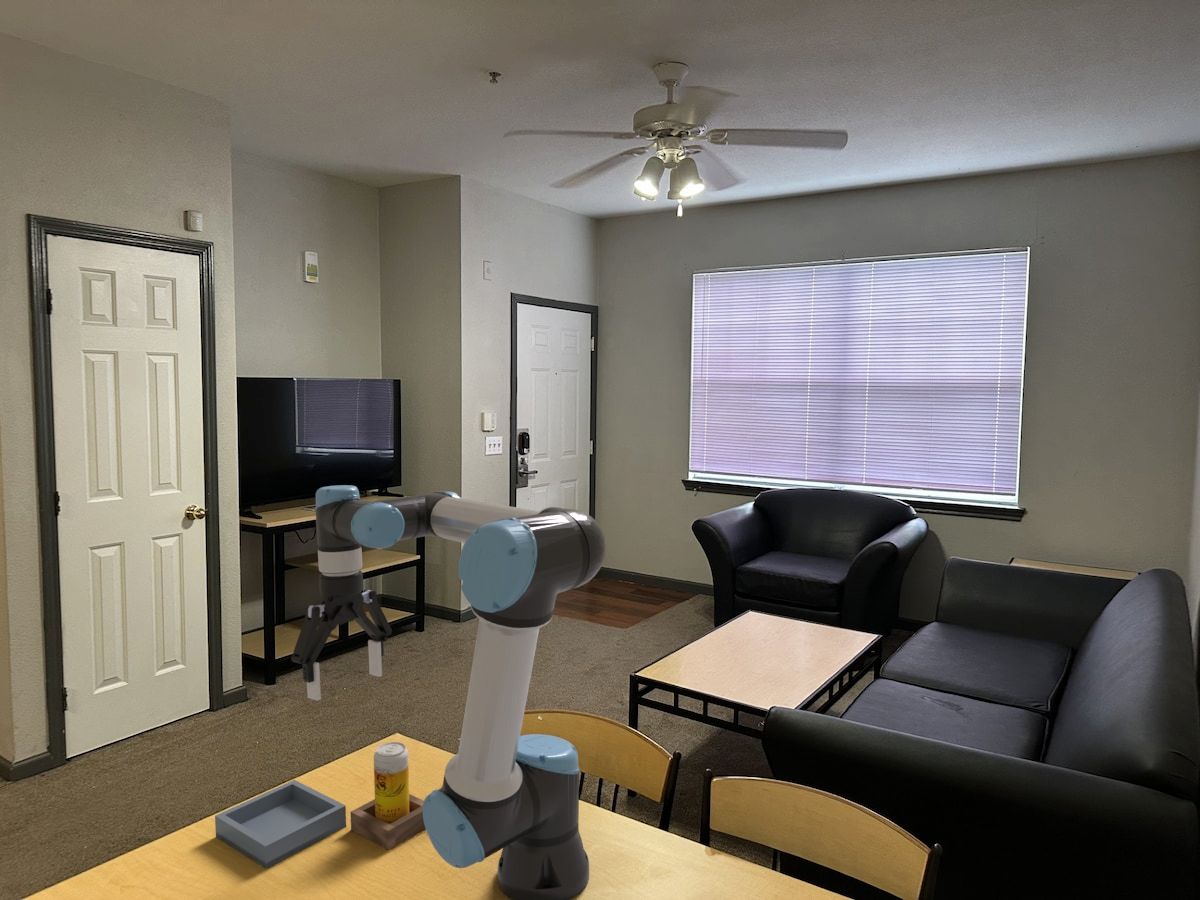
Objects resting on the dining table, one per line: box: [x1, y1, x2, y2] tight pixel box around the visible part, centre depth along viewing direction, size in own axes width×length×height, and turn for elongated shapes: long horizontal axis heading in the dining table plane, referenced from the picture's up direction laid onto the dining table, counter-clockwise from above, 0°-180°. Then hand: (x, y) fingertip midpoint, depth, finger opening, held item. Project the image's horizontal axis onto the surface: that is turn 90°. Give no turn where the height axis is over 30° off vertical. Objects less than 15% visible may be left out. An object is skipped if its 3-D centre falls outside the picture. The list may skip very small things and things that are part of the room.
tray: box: [214, 779, 347, 870], centre depth 148 cm, size 16×16×4 cm
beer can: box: [373, 741, 410, 824], centre depth 149 cm, size 6×6×15 cm
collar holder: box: [350, 793, 426, 851], centre depth 150 cm, size 10×10×4 cm
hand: (346, 686), depth 148 cm, fingers open, 13 cm apart
